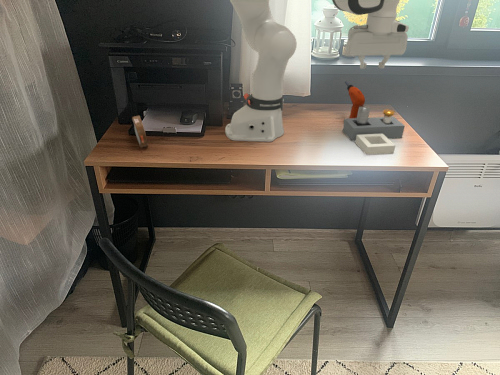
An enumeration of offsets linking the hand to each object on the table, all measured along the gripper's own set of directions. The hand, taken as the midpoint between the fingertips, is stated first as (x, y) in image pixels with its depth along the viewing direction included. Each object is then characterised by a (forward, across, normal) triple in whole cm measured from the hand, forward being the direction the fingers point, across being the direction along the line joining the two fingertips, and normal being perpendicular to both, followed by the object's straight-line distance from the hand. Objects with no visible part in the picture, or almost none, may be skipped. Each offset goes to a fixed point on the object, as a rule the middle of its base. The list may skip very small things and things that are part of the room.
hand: (371, 68), depth 131 cm
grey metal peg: (+25, 0, 0) cm, 25 cm away
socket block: (+25, +5, 0) cm, 26 cm away
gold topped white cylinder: (+25, +10, 0) cm, 27 cm away
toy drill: (+25, +1, +14) cm, 29 cm away
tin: (+25, -81, +3) cm, 85 cm away
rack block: (+25, +1, -11) cm, 27 cm away
